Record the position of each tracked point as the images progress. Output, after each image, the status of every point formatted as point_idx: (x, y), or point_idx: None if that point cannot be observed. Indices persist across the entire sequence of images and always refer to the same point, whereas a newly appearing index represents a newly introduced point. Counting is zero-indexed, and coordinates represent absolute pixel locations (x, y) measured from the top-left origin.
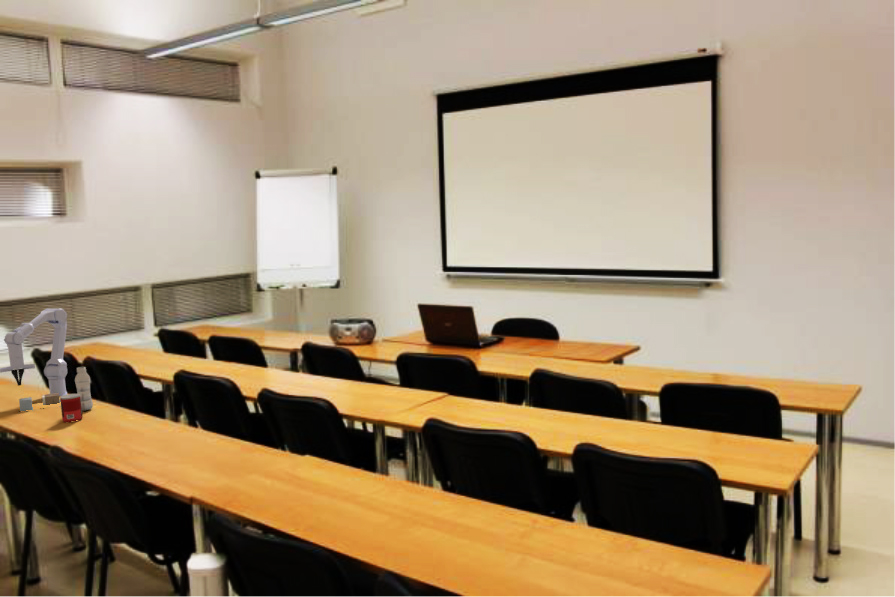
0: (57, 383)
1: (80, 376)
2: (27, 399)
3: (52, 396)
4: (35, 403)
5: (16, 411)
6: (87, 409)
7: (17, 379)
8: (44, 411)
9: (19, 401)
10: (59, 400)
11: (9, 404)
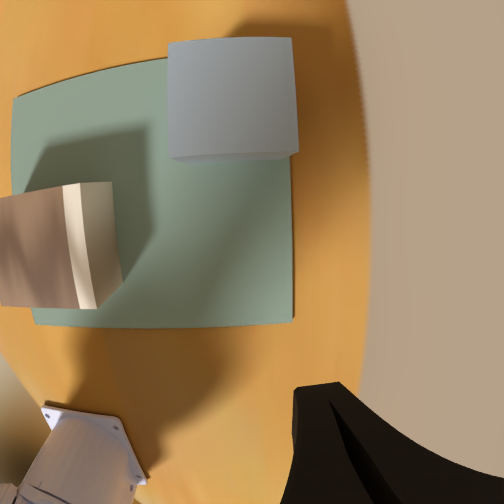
0: (46, 468)
1: None
2: (207, 49)
3: (17, 195)
4: (183, 333)
5: (307, 122)
6: None
7: (380, 443)
8: (116, 8)
9: (287, 39)
10: None
11: None
